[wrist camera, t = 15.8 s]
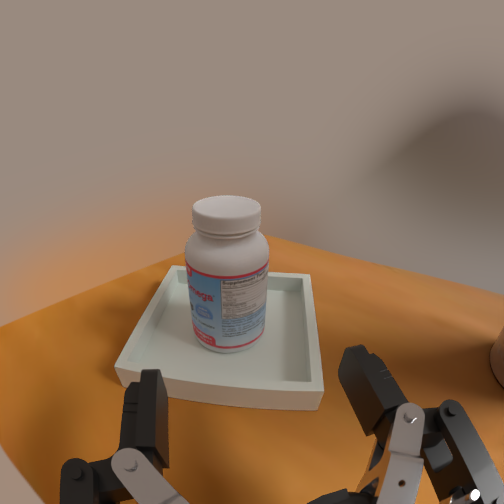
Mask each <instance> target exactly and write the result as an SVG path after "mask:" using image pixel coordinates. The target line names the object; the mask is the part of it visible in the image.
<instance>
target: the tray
mask: <svg viewBox="0 0 504 504" xmlns="http://www.w3.org/2000/svg"><path fill="white" fill-rule="evenodd" d="M114 368H115V370H116V373H117V375H118V377H119V379H120V381H121V383H122V386H123V387H126V388H128V386H129V384H130V383H131V382H140V376H141V371H142V369H160V371H161V374H162V377H163V381H164V384H165V387H166V390H167V395H168V397H172V398H177V399H183V400H189V401H196V402H202V403H209V404H217V405H226V406H235V407H245V408H258V409H274V410H308V411H317V410H318V407H319V404H320V402H321V399H322V396H323V393H324V384H323V374H322V365H321V356H320V347H319V338H318V330H317V322H316V315H315V307H314V300H313V293H312V286H311V279H310V274H294V273H277V272H268V283H267V299H266V315H265V327H264V333H263V335H262V337H261V339H260V340H259V341H258V342H257V343H256V344H254V345H253V346H251V347H249V348H247V349H245V350H242V351H239V352H233V353H221V352H216V351H213V350H210V349H208V348H206V347H205V346H203V345H202V344H201V343H200V342H199V341H198V340H197V338H196V336H195V334H194V330H193V324H192V315H191V307H190V299H189V291H188V282H187V272H186V266H174V265H172V266H171V268H170V270H169V271H168V273H167V275H166V276H165V278H164V279H163V281H162V283H161V284H160V286H159V288H158V289H157V291H156V293H155V294H154V296H153V298H152V299H151V301H150V303H149V305H148V306H147V308H146V310H145V311H144V313H143V315H142V317H141V318H140V320H139V322H138V323H137V325H136V327H135V329H134V331H133V332H132V334H131V336H130V338H129V339H128V341H127V343H126V345H125V347H124V348H123V350H122V352H121V354H120V356H119V358H118V359H117V361H116V363H115V365H114Z"/></svg>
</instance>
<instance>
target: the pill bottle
mask: <svg viewBox="0 0 504 504" xmlns="http://www.w3.org/2000/svg"><path fill="white" fill-rule="evenodd" d="M192 216H193V220H192V223H193V225H194V229H195V230H196V232H195V233H193V234H192V235H191V237H190V238H189V239H188V241H187V243H186V246H185V261H186V272H187V282H188V291H189V299H190V307H191V315H192V324H193V330H194V334H195V336H196V338H197V340H198V341H199V342H200V343H201V344H202V345H203V346H205V347H206V348H208V349H210V350H213V351H216V352H221V353H233V352H239V351H242V350H245V349H247V348H249V347H251V346H253V345H254V344H256V343H257V342H258V341H259V340H260V339H261V337H262V335H263V333H264V327H265V315H266V299H267V283H268V266H269V245H268V242H267V240H266V239H265V237H264V236H263V235H262V234H261V233H260V232H259V231H257V230H258V229H259V227H260V223H261V207H260V204H259V203H258V202H257V201H255V200H253V199H250V198H246V197H241V196H231V195H230V196H229V195H228V196H226V195H225V196H213V197H209V198H205V199H201V200H199V201H197V202H196V203H195V204H194V205H193V207H192Z"/></svg>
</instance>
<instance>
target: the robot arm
mask: <svg viewBox="0 0 504 504" xmlns="http://www.w3.org/2000/svg"><path fill="white" fill-rule="evenodd" d="M490 363H491V367H492V370H493V372H494V375H495V376H496V378H497V380H498V381H499V383H500V384H501V385H502V386H503V387H504V327H503V329H502V331H501V333H500V335H499V336H498V338H497V340H496V342H495V343H494V345H493V347H492V349H491V352H490ZM338 376H339V380H340V383H341V385H342V387H343V389H344V391H345V393H346V395H347V397H348V399H349V401H350V403H351V405H352V407H353V409H354V412H355V414H356V416H357V418H358V420H359V422H360V424H361V426H362V428H363V431H364V433H365V435H366V436H369V435H372V434H375V436H376V439H375V442H374V445H373V449H372V452H371V455H370V458H369V462H368V465H367V468H366V471H365V473H364V475H363V477H362V479H361V480H360V482H359V484H358V486H357V489H356V491H355V492H348V491H347V489H346V488H345V489H342V490H339V491H336V492H333V493H329V494H326V495H322V496H321V497H319V498H317V499H315V500H313V501H311V502H309V503H307V504H415V500H416V496H417V492H418V488H419V483H420V479H421V474H422V469H423V464H424V466H425V469H426V471H427V473H428V476H429V478H430V480H431V483H432V485H433V487H434V490H435V492H436V494H437V497H438V499H439V502H440V503H439V504H504V484H503V481H502V479H501V477H500V475H499V473H498V471H497V469H496V467H495V465H494V463H493V461H492V459H491V457H490V455H489V453H488V451H487V450H486V448H485V446H484V444H483V442H482V440H481V438H480V437H479V435H478V433H477V431H476V429H475V428H474V426H473V424H472V423H471V421H470V419H469V417H468V416H467V414H466V412H465V411H464V409H463V407H462V406H461V405H460V403H458V402H457V401H455V400H446V401H444V402H443V403H442V404H441V405H440V406H439V407H437V408H426V409H422V408H421V407H419V406H418V405H416V404H414V403H409V402H408V401H407V399H406V398H405V396H404V394H403V393H402V391H401V389H400V388H399V386H398V385H397V383H396V381H395V380H394V378H393V377H392V375H391V373H390V372H389V370H387V367H386V365H385V364H384V362H383V361H382V360H381V359H380V358H379V357H378V356H376V355H375V354H374V353H372V354H369V353H368V351H367V349H366V348H365V346H363V345H357V346H352V347H348V348H346V349H345V351H344V354H343V357H342V360H341V363H340V366H339V369H338ZM444 439H445V440H444ZM445 441H446V442H445ZM446 443H447V444H446ZM447 445H448V446H447ZM448 447H449V448H448ZM449 449H450V450H449ZM450 451H451V452H450ZM451 453H452V454H451ZM163 468H169V442H168V395H167V390H166V387H165V384H164V381H163V377H162V374H161V371H160V369H142V371H141V376H140V382H131V383H130V384H129V386H128V388H127V389H126V391H125V396H124V405H123V413H122V422H121V432H120V443H119V448H118V450H117V451H116V453H115V454H114V455H113V456H111V457H110V458H108V459H105V460H100V461H95V462H90V463H87V462H86V461H84V460H82V459H79V458H73V459H69V460H68V461H66V462H65V463H64V464H63V466H62V469H61V480H60V504H120V501H125V500H130V499H135V500H136V501H137V502H138V503H139V504H190V503H189V502H188V501H186V500H185V499H184V498H183V497H182V496H181V495H180V494H179V493H178V492H177V491H176V490H175V489H174V488H173V487H172V486H171V485H170V484H169V483H168V482H167V481H166V480H165V479H164V478H163Z"/></svg>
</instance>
